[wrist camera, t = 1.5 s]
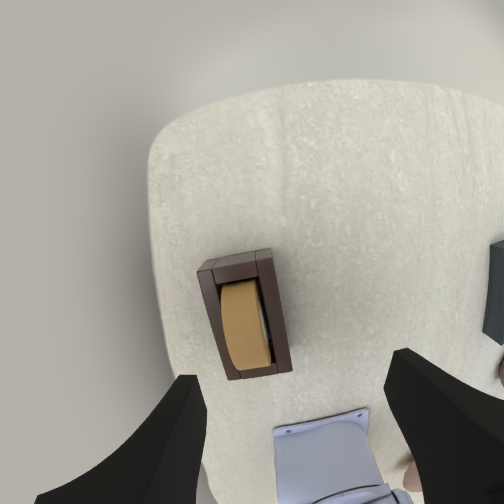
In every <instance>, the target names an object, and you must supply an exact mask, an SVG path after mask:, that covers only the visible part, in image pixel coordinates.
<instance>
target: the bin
mask: <svg viewBox="0 0 504 504" xmlns="http://www.w3.org/2000/svg"><path fill="white" fill-rule="evenodd" d="M482 332H483V333H485V334H486V335H487V336H489V337H490V338H492V339H493V340H494V341H496V342H497V343H498V344H500V345H501V346H502V345H503V344H504V240H503V241H500V242H497V243H494V244H491V245H490V272H489V286H488V296H487V305H486V312H485V319H484V325H483V331H482Z"/></svg>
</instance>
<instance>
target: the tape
mask: <svg viewBox="0 0 504 504" xmlns="http://www.w3.org/2000/svg"><path fill="white" fill-rule="evenodd" d="M221 313H222V322H223V329H224V334H225V339H226V344H227V347H228V351H229V354H230V357H231V359H232V362H233V364H234V366H235V367H236V369H237V370H246V369H253V368H260V367H266V366H270V365H271V353H270V345H269V338H268V331H267V325H266V320H265V314H264V309H263V305H262V300H261V296H260V292H259V288H258V285H257V282H256V280H248V281H243V282H237V283H232V284H226V285H224V286H223V288H222V293H221Z"/></svg>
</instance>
